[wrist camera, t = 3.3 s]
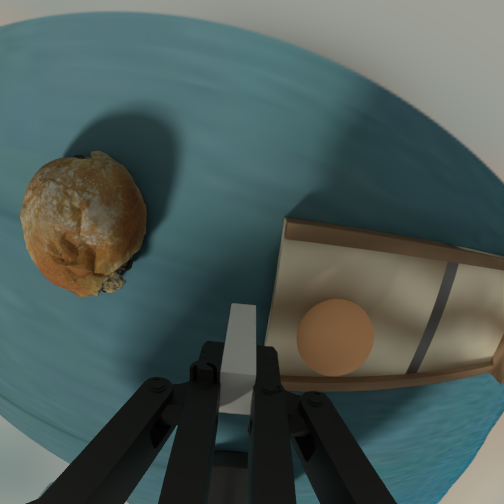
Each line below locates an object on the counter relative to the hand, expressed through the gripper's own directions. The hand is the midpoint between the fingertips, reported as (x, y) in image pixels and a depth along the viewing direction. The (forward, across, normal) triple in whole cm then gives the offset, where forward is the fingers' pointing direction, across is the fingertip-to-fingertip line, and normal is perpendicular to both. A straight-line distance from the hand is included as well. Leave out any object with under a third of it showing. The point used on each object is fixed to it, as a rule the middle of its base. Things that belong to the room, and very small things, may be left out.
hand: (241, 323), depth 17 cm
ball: (+2, -6, 0) cm, 6 cm away
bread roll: (+3, +12, -5) cm, 13 cm away
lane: (+3, -16, 0) cm, 17 cm away
